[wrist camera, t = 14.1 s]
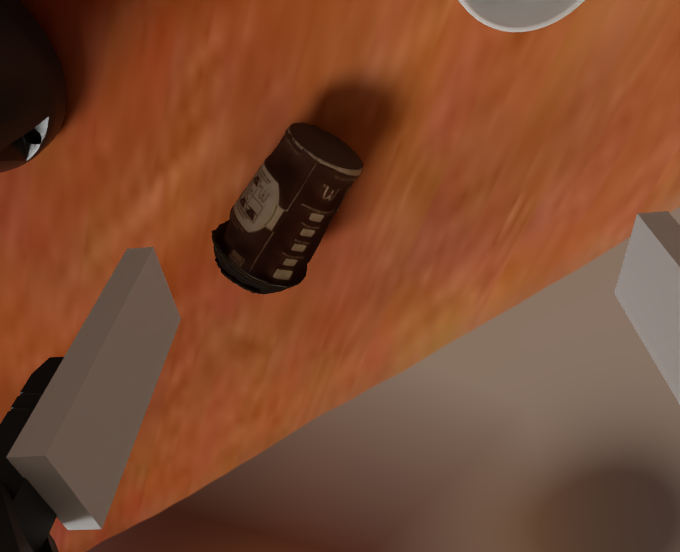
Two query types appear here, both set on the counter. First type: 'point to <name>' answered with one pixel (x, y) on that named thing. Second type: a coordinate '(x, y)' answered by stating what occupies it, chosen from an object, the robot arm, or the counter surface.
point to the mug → (519, 12)
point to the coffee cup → (285, 210)
